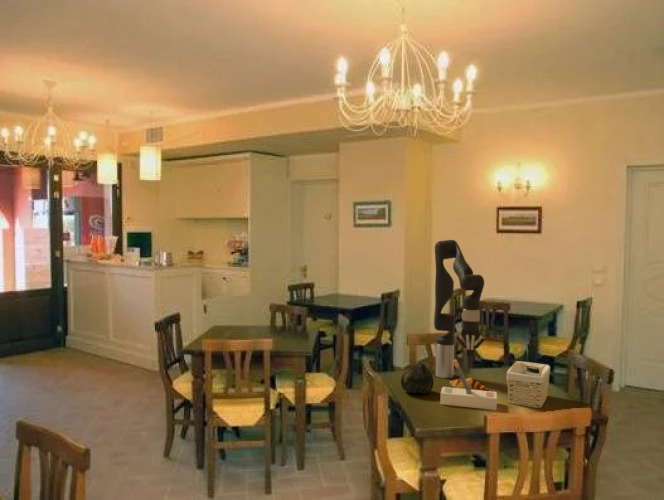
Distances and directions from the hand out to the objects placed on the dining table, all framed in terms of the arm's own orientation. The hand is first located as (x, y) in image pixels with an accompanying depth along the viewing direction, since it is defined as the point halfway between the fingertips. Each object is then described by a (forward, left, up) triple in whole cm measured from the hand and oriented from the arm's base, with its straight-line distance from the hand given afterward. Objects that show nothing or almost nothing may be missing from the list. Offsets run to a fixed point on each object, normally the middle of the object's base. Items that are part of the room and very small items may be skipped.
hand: (469, 357), depth 244 cm
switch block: (-4, 0, -21) cm, 21 cm away
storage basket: (-14, +26, -21) cm, 36 cm away
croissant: (-19, -1, -21) cm, 29 cm away
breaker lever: (+1, 0, -15) cm, 15 cm away
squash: (-8, -24, -21) cm, 33 cm away
